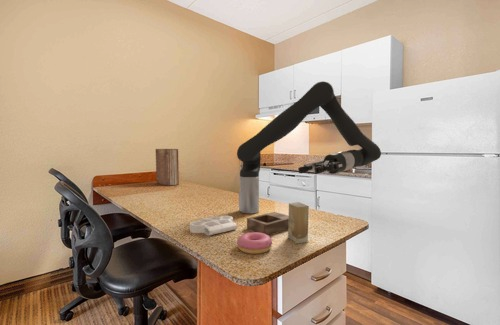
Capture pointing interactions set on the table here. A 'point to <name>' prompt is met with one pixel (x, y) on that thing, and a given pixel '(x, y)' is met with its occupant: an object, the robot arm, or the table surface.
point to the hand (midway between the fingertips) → (307, 170)
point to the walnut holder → (268, 223)
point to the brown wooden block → (167, 166)
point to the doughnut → (254, 242)
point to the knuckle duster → (213, 225)
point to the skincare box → (298, 222)
